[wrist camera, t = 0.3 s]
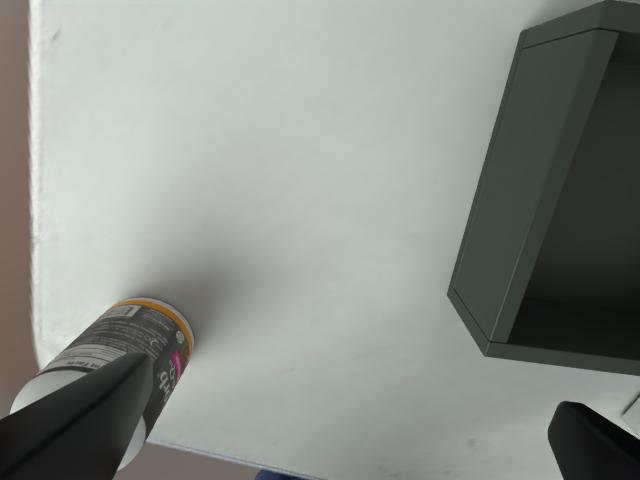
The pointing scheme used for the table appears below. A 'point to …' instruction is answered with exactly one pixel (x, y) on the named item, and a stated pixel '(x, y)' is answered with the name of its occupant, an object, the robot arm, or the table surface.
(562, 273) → the bin
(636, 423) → the ink box
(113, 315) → the pill bottle
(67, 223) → the table surface
